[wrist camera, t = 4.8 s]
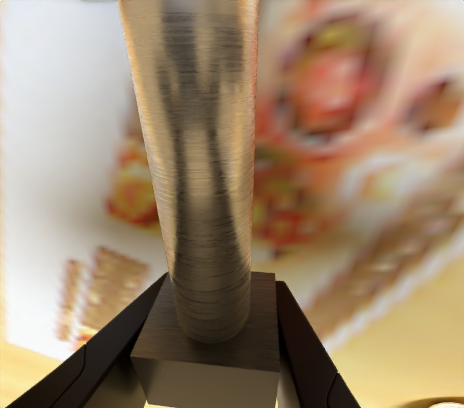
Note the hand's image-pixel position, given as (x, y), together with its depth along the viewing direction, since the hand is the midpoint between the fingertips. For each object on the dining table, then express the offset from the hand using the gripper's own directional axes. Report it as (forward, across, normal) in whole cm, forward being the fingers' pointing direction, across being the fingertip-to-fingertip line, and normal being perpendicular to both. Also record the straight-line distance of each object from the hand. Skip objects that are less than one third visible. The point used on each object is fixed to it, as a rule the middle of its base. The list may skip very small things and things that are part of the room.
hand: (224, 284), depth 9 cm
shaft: (-1, 0, -9) cm, 9 cm away
